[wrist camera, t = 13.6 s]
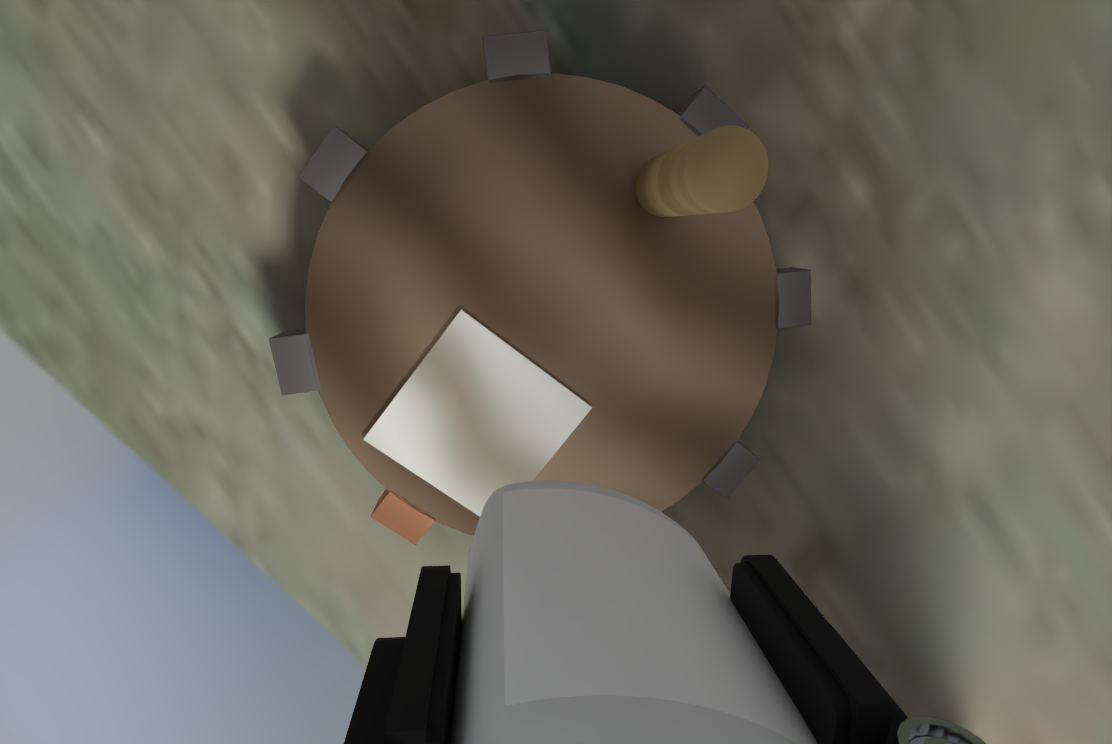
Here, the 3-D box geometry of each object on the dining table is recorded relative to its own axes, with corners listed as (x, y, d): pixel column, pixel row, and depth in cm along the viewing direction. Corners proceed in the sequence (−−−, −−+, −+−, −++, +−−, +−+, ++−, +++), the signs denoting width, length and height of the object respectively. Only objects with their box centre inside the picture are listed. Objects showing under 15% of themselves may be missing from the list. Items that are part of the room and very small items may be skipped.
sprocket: (497, -89, 22) (493, -279, 14) (889, 280, 27) (1061, 303, 19) (179, 372, 26) (20, 443, 17) (584, 631, 30) (615, 785, 22)
